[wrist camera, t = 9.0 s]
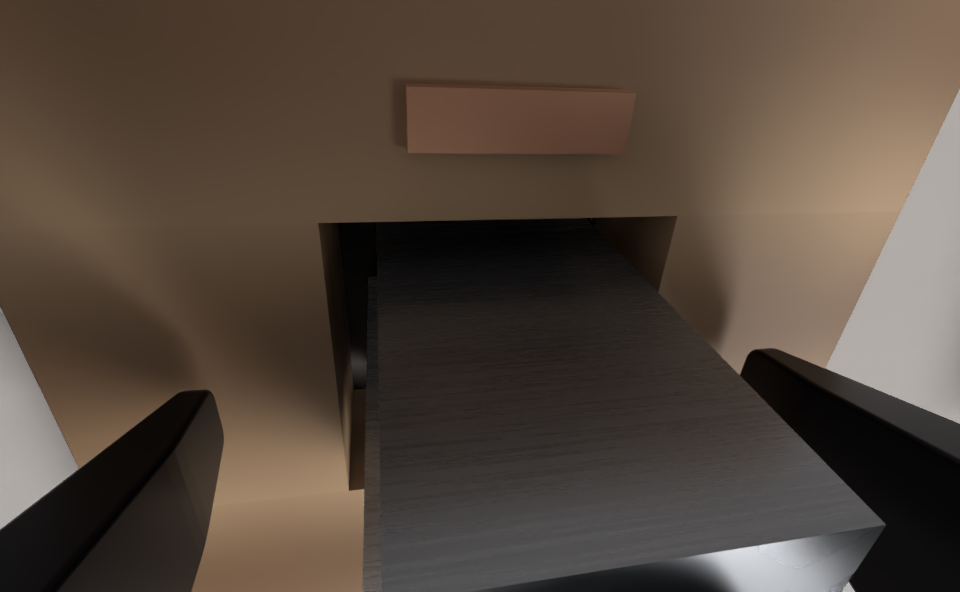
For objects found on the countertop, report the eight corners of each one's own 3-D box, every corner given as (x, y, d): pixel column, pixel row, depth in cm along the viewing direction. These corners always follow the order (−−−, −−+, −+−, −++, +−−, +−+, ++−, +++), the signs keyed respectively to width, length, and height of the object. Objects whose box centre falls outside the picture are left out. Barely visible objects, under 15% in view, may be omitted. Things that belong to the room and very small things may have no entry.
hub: (670, 490, 17) (730, 589, 14) (211, 548, 14) (171, 682, 11) (886, -138, 9) (1126, -203, 6) (-62, -258, 6) (-409, -465, 4)
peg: (565, 198, 11) (959, 599, 4) (547, 350, 13) (776, 808, 6) (363, 203, 10) (337, 722, 3) (376, 363, 12) (381, 912, 5)
